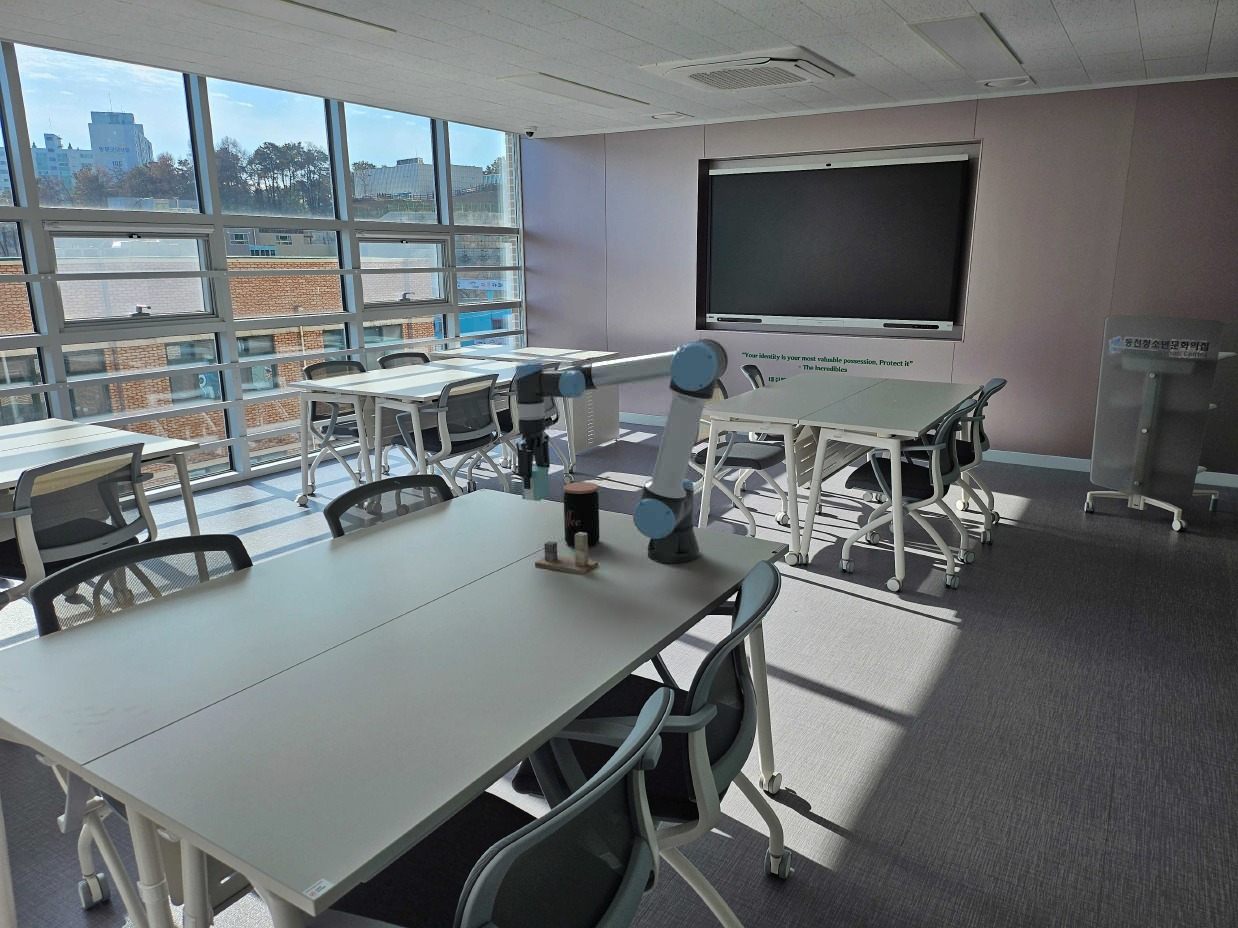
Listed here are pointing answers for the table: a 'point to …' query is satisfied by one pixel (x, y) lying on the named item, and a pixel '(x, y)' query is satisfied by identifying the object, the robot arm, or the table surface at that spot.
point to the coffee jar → (581, 512)
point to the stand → (568, 563)
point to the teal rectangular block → (538, 483)
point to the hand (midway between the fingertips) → (535, 496)
